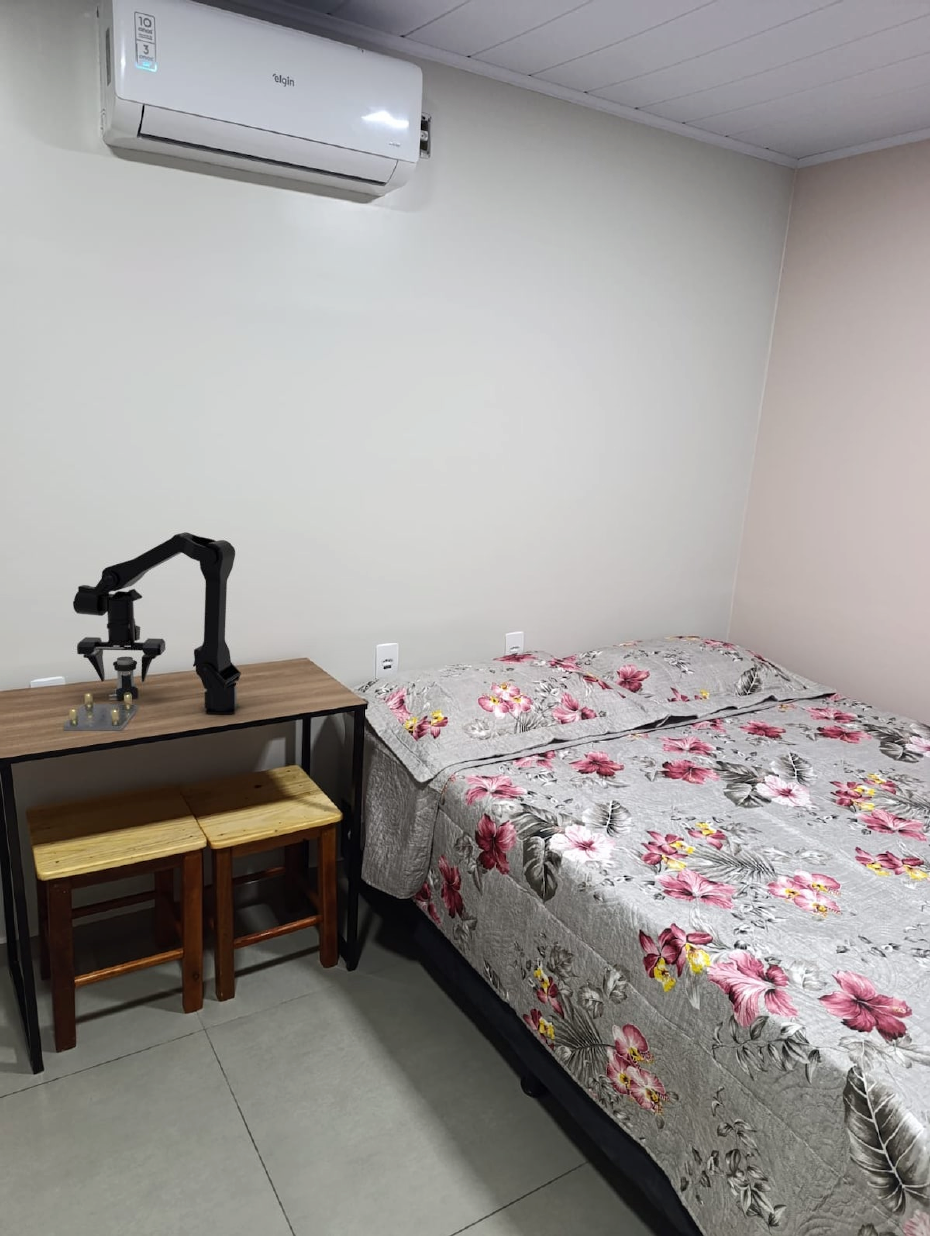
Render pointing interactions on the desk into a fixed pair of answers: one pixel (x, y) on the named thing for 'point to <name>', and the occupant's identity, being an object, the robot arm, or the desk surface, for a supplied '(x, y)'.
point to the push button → (125, 678)
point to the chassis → (101, 715)
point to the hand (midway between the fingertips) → (123, 681)
